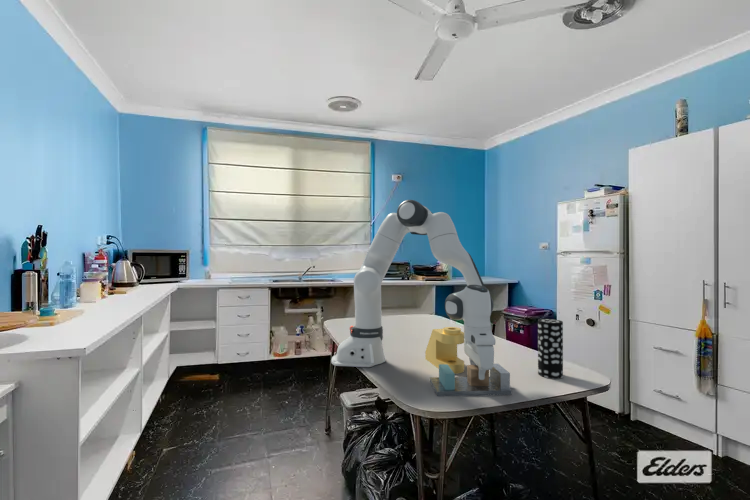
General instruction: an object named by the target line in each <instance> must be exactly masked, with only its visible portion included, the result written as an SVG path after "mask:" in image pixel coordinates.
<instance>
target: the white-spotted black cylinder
mask: <svg viewBox="0 0 750 500" xmlns="http://www.w3.org/2000/svg"><path fill="white" fill-rule="evenodd" d="M563 343H564V322H563V321H562V320H560V319H555V318H540V319H538V320H537V374H538V375H539V376H540V377H543V378H547V379H552V380H553V379H554V380H556V379H558V380H559V379H563V378H564V351H563V350H564V346H563V345H564V344H563Z"/></svg>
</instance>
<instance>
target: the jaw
mask: <svg viewBox="0 0 750 500" xmlns="http://www.w3.org/2000/svg"><path fill="white" fill-rule="evenodd" d="M438 377H439V380H440V381H441V383H442V385H443V386H444V388H445V390H455V377H456V374H454V372H453V371H452V370H451V368H450V367H449V366H448V364H440V365H439V369H438Z"/></svg>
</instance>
